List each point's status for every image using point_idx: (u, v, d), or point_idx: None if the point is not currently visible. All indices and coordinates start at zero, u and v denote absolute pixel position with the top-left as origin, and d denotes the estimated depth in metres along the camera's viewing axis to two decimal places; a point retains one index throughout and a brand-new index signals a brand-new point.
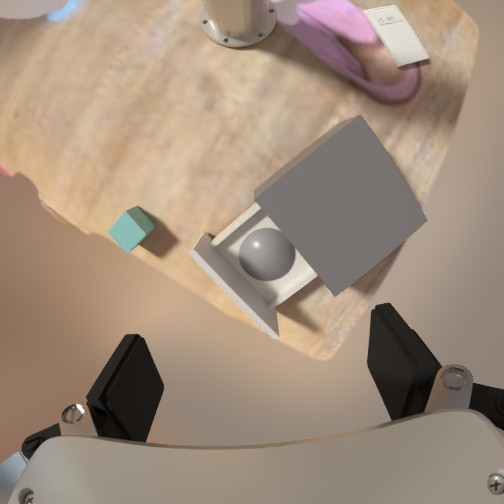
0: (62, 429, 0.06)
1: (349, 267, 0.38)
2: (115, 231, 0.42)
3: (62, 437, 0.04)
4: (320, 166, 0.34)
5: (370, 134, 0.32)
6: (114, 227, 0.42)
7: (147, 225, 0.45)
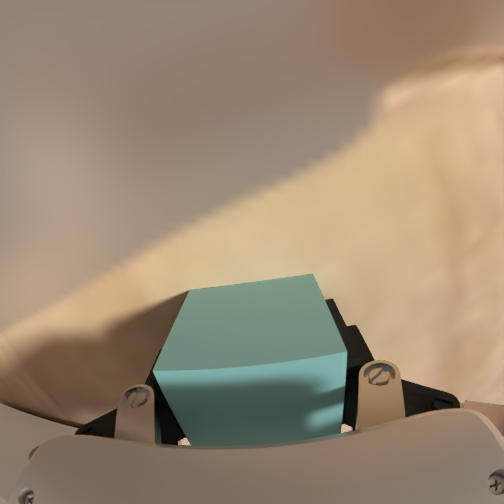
0: (119, 411, 0.07)
1: None
2: (309, 390, 0.07)
3: (62, 437, 0.04)
4: None
5: None
6: (330, 394, 0.07)
7: None
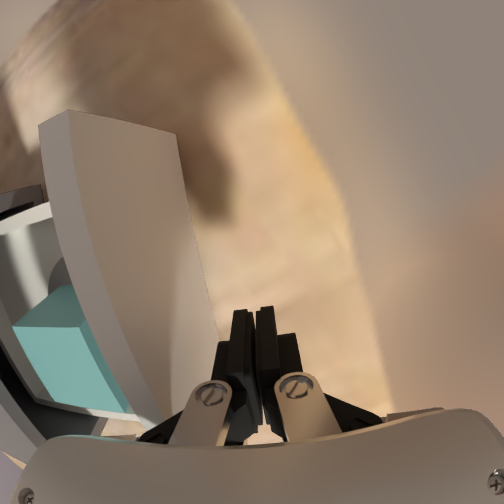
0: (188, 405, 0.07)
1: None
2: (97, 397, 0.11)
3: (62, 437, 0.04)
4: None
5: None
6: (97, 404, 0.11)
7: None
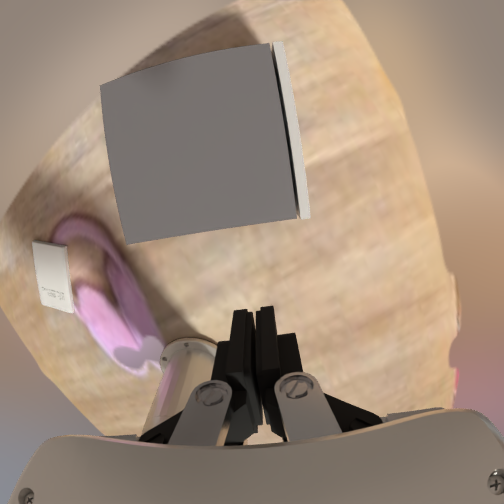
0: (188, 405, 0.07)
1: (229, 70, 0.23)
2: None
3: (62, 437, 0.04)
4: (200, 211, 0.27)
5: (125, 218, 0.28)
6: None
7: None
